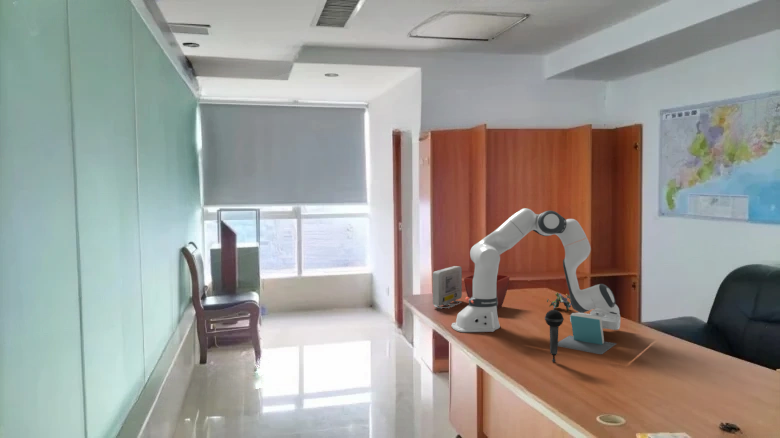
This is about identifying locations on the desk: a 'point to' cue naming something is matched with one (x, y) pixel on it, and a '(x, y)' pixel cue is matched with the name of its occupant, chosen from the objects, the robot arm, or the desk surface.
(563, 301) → the passion flower
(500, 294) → the plant pot
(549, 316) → the microphone
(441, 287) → the network device
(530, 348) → the desk surface
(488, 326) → the robot arm
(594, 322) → the tile
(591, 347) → the mat
